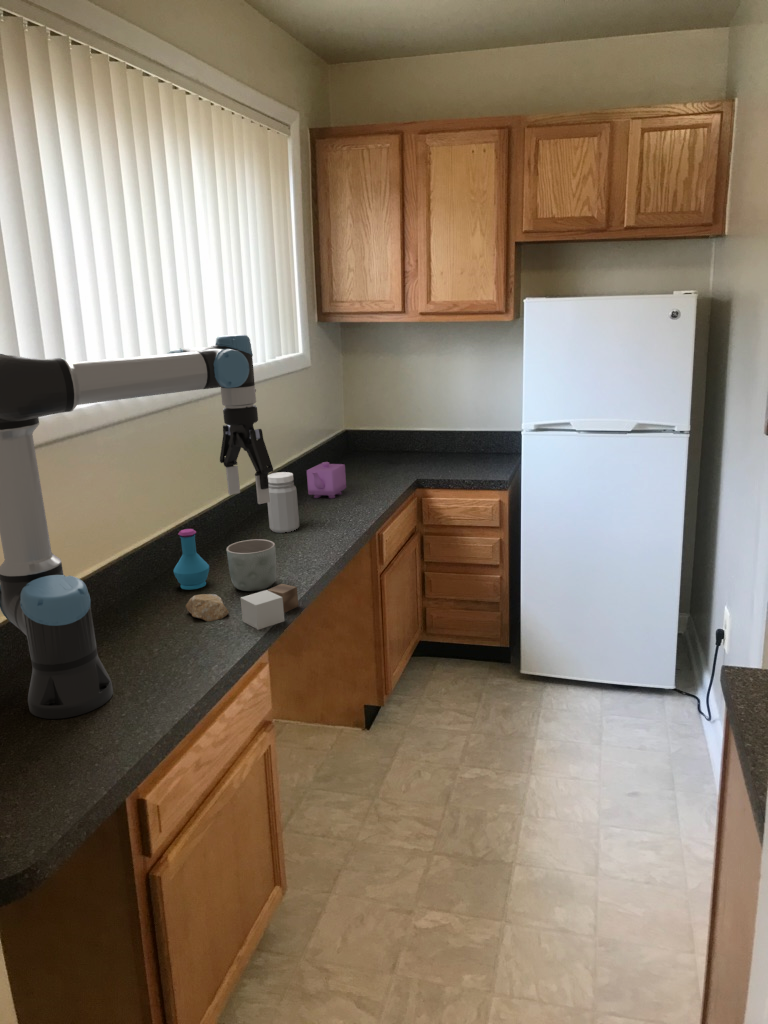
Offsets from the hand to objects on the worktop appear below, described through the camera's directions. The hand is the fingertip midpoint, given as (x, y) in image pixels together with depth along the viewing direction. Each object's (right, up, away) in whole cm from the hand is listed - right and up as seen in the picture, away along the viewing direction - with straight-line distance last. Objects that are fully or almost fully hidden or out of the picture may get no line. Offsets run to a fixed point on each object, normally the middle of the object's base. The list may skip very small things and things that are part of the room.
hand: (248, 498), depth 193 cm
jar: (-1, -9, +78) cm, 78 cm away
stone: (-11, -28, +8) cm, 31 cm away
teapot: (+10, +2, +119) cm, 120 cm away
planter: (-3, -23, +26) cm, 34 cm away
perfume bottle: (-19, -23, +29) cm, 42 cm away
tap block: (+3, -29, +2) cm, 29 cm away
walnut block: (+7, -26, +10) cm, 29 cm away
